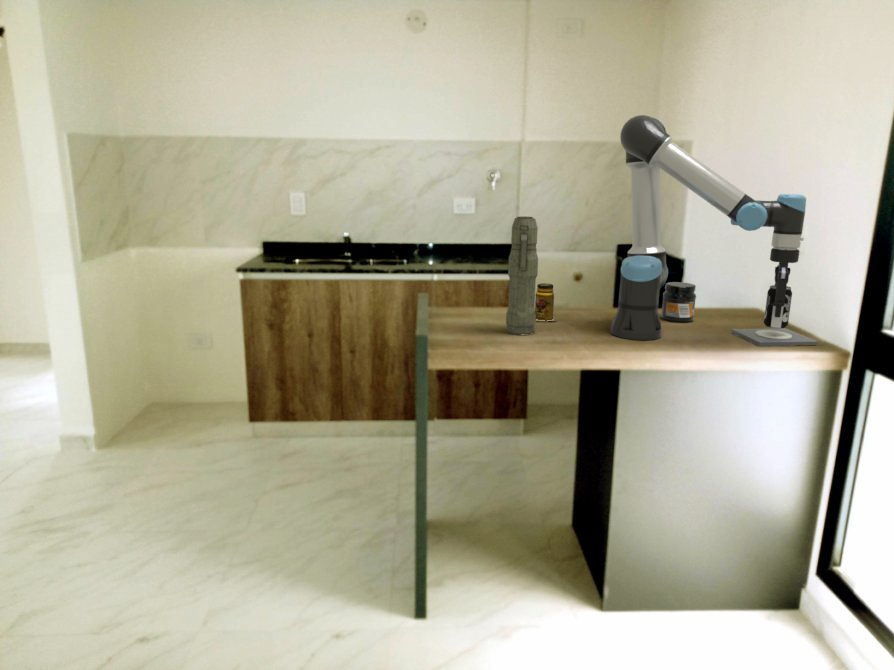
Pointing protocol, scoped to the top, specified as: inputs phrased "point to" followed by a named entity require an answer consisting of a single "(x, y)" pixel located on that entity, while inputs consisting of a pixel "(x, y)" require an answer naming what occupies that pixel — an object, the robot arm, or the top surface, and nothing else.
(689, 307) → the supplement container
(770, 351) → the top surface
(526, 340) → the top surface
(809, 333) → the top surface
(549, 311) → the condiment
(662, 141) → the robot arm
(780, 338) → the plate
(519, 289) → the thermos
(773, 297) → the beverage can
